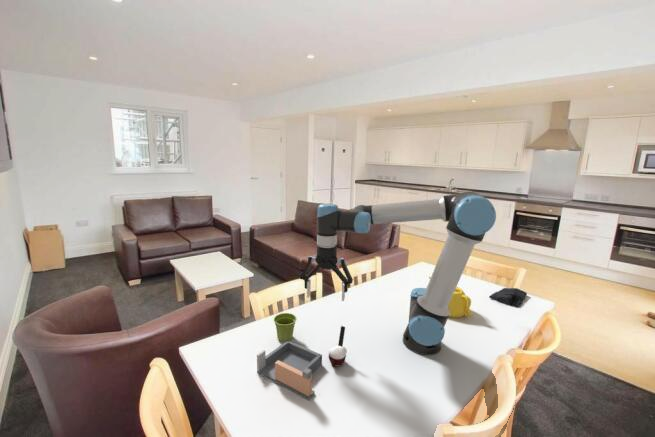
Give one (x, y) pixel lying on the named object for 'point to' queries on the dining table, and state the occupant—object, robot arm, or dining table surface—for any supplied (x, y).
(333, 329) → the dining table surface
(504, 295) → the dark slate chunk
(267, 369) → the box
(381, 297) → the dining table surface
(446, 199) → the robot arm
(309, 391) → the cover
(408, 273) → the dining table surface
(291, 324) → the plant pot
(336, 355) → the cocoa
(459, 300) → the teapot
